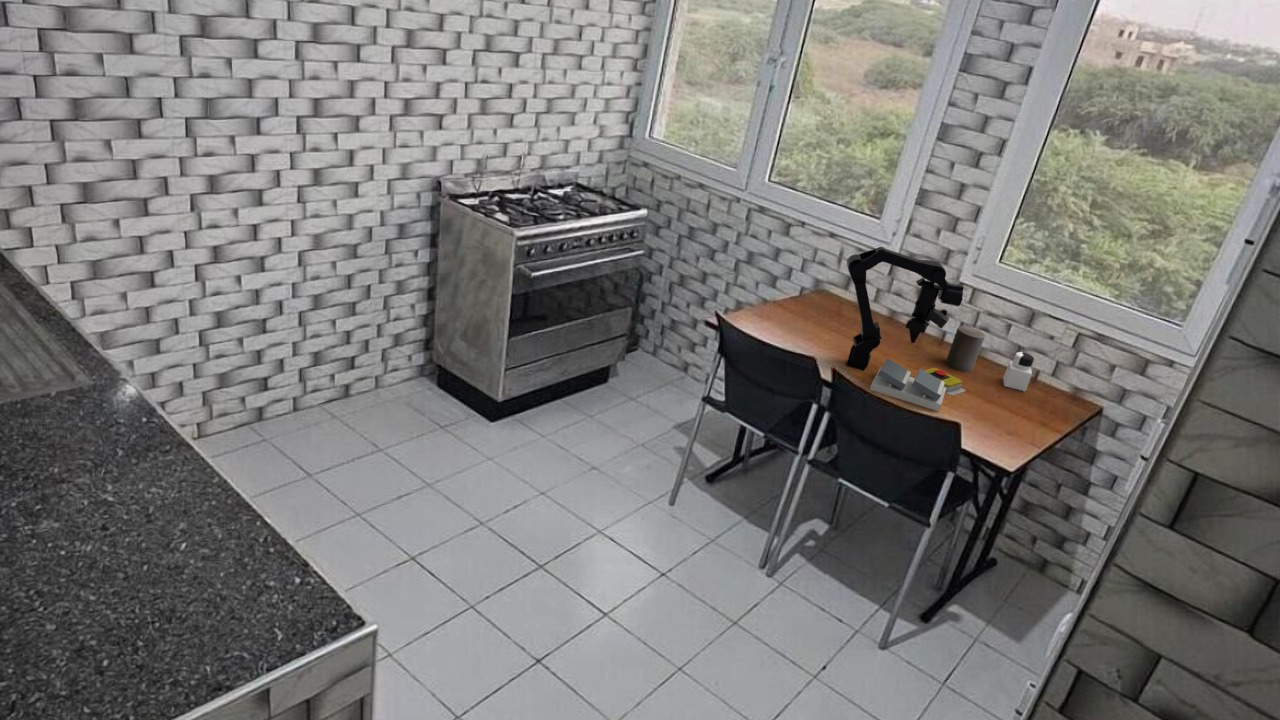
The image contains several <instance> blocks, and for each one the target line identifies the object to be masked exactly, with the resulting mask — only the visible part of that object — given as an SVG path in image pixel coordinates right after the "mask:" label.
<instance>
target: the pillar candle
mask: <svg viewBox="0 0 1280 720" xmlns="http://www.w3.org/2000/svg"><path fill="white" fill-rule="evenodd" d="M985 338H986V334H985V333H984V332H982V331H981V330H979V329H977V328H974V327H971V326H966V325H964V326H963V325H961V326H960V325H959V326H958V327H957V328H956V332H955V334H954V337H953V340H952V343H951V345H950V348H949V351H948V354H947V357H946V360H945V364H946V365H948V367H949V368H951V369H954V370H956V371H960V372H965V373H970V372H972V371H973V370H974V368H975V364H976V363H977V359H978V356H979V355H980V354H979V353H980V352H981V348H982V346H983V344H984V341H985Z"/></svg>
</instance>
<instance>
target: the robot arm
mask: <svg viewBox="0 0 1280 720" xmlns="http://www.w3.org/2000/svg"><path fill="white" fill-rule="evenodd" d="M882 262H883V263H885V264H889V265H890V266H894V267H899V268H901V269H903V270H907V271H909V272H912V273H915V274H918V276H921V278H920V279H917V280H916V281H915V282H916V285H917V286H919V287H920V290H919V292H918V294H917V295H918V296H917V299H916V301H915V303H914V308H913V312H912V313H911V318H909V319H907V322H906V324H905V328H906V329H907V330H908V329H909V330H908V331H909V337H910V343H911V344H915V342H916V341H917V339H918V337H919V335H920V334H921V333H922V334H925V333H926V331H927V329H928V327H929V325H930V322H933V324H935V325H936V326H937V327H938V328H940V329H943V328H944V327H945V325H946V324H947V323H948V322H949V320H950V318H949V315H948V310H947V309H945V308H943V309H937V308H936V301H937V299H938V300H940V304H943V305H944V304H945V305H950V306H955V307H960V306H961V304H962V302H963V297H964V293H963V292H964V286H963V285H961V284H953V283H949V282H948V281H947V279H946V276H947V272H946V269H945V268H944V266H943V264H942V263H941V262H939V261H936V260H931V259H919V258H914V257H912V256H909V255H906V254H902V253H900V252H897V251H893V250H891V249H887V248H886V247H884V246H879V247H876V248H874V249H870V250H867V251H864V252H862V253H858V254H856V253H855V254H854V253H853V254H852V255H850V256H849V257H848V258H847V260H846V267H847V269H848V273H849V275H850V278H851V280H852V283H853V284H854V288H855V294H856V298H857V305H858V310H859V315H860V323H861V324H860V333H858V334H856V335H854V336H853V337H852V340H853V344H852V346H851V348H850V352H849V354H848V358H847V361H846V362H845V365H846V366H849V367H852V368H855V369H858V370H861V371H865V370H866V368H868V366H869V364H870V361H871V358H872V354H871V353H872V352H873V350H874V349H876V348H878V347H879V346H880V344H881V340H882V339H883V337H882V334H881V328H880V325H879V321H876V322H874V319H873V315H872V310H871V305H870V300H869V299H870V298H869V293H868V289H867V288H868V287H867V271H869V270H870V269H873V268H875V266H877V265H878V264H880V263H882Z"/></svg>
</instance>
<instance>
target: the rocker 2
mask: <svg viewBox="0 0 1280 720" xmlns="http://www.w3.org/2000/svg"><path fill="white" fill-rule="evenodd" d="M924 370H925V369H923V368H919V370H918V371H917V372H916V375H915V376H916V377H914V378H915V379H914V382H913V384H912V386H913V387H915V388H917V389H918V390H920V391H922V392H923V393H925V394H927V395H928V396H930V397H932V398H933V399H935V400H937V401H938V399H939V398H940V397H941V394H942V391H943V388H944V385H945V382H943V381H941V380H939V379H938V378H936V377H934V376H933V375H931V374H929V373H927V372H926V371H924Z"/></svg>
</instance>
